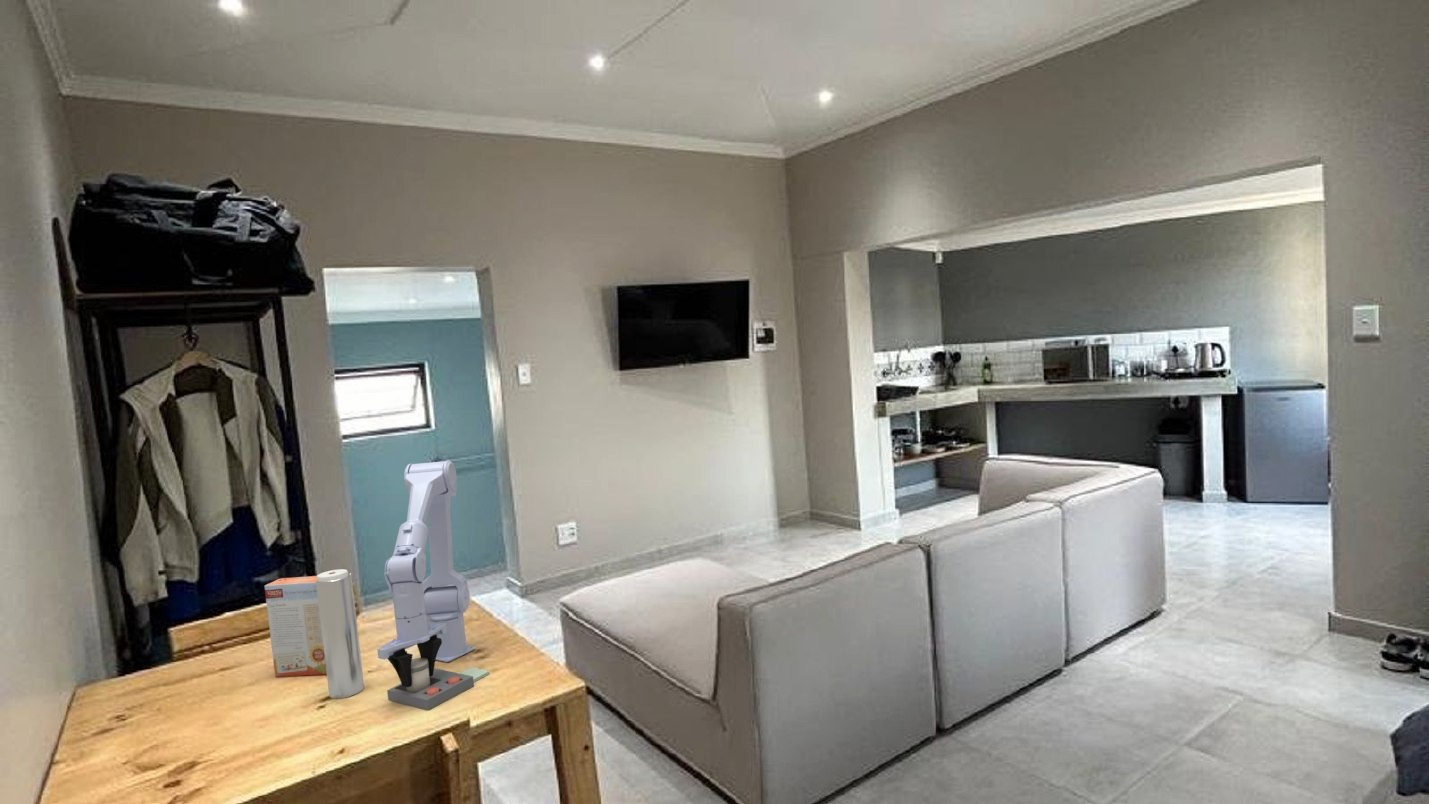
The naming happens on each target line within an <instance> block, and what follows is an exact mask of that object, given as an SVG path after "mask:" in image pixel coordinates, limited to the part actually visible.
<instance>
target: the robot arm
mask: <svg viewBox="0 0 1429 804" xmlns="http://www.w3.org/2000/svg"><path fill="white" fill-rule="evenodd" d="M403 473H404V474H403V481H404V485H405V488H406V490H407V493H408V494H409V500H408V507H407V517H406V521H405V522H404V523H402V524H401V525H400V526H399V528H398V533H397V538H396V540H395V541H396V542H395V545H394V549H393V553H392V556H391V557H390V558H387V560H386V562H385V563H384V564H385V565H384V579H385V583H386V584H387V585H388V592H389V594H390V595H392V604H393V612H394V622H395V628H396V629H395V630H396V637H395V638H393V639H392V640H390V641H389V642H387V643H386V644H384V645H382V646H380V647H378V648H377V649H376V650H377V659H380V660H388V661H389V663H390V664H391V665H392V667H393V669H394V670H395V672H396V674H397V676H398V679H399V681H400V684H402V686H404V687H410V686H412V677H411V661H412V659H413V654H412V653H409V652H408V649H409V648H411V647H413V646H417V649H418V652H419V656H420V658H427V659H428V663H429V666H428V668H429V676H430V677H431V676H433V672H434V668H435V665H436V661H440V662H445V663H449V662H452V661H454V660H456V659H457V658H460V657H462V656H463V655H464V656H465V655H466V654H468V653H470V652H473V651H474V650H476V646H472V645H467V638H466V629H465V628H466V627H465V620H464V619H465V618H464V613H466V612H467V610H468V609H469V608H470V607H469V606H470V602H471V600H470V599H471V598H470V591H469V587H468V580H467V578H466V577H465V576H464V575H462V574H460V573H459V572H457V571H456V570H454V559H453V558H454V556H453V555H454V554H453V537H452V535H453V534H452V518H451V516H452V515H451V514H452V513H451V498H453V497H455V496H457V493H458V492H457V491H458V480H457V470H456V467H455V465H454V463H453V462H452V461H451V460H449V459H447V460H443V461H432V462H423V463H422V462H421V463H420V462H419V463H408V464H407V465H406V467H405V469H404V472H403ZM427 518H428V519H427ZM426 522H428V526H427V525H426ZM428 536H429V537H428ZM428 538H429V540H428ZM427 541H429V557H430V559H429V560H430V575H428V576H427V577H426V573H427V554H425V552H426V546H427ZM425 577H426V578H425Z"/></svg>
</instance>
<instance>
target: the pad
mask: <svg viewBox="0 0 1429 804" xmlns="http://www.w3.org/2000/svg"><path fill="white" fill-rule="evenodd" d="M458 673H459V674H464V675H469V676H473V682H474V683H475V682H477V681H479V680H481V679H483V678H485V677H487V676H489V675H490V670H486V669H481V668H476V667H469V668H467V669H465V670H463V671H461V672H458Z"/></svg>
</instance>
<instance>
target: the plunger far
mask: <svg viewBox="0 0 1429 804" xmlns="http://www.w3.org/2000/svg"><path fill="white" fill-rule="evenodd" d="M459 681H460V678H459V677H458V676H454V677H451V678H449V679H448V684H452V685H453V684H455V683H457V682H459Z"/></svg>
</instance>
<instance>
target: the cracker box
mask: <svg viewBox="0 0 1429 804" xmlns="http://www.w3.org/2000/svg"><path fill="white" fill-rule="evenodd" d="M316 581H317V575H312V576H311V575H310V576H297V577H296V576H295V577H284V578H283V577H281V578H278V579H276V580H274V581H272V582H269V583H267V584H265V585H264V593H265V594H264V595H265V602H266V603H265V604H266V610H267V618H268V627H269V635H270V637H269V638H270V642H271V652H272V659H273V668H274V676H275V677H277V678H279V677H281V678H283V677H298V676H314V675H317V676H319V675H320V676H321V675H327V672H326V664H325V655H324V647H323V638H322V630H321V621H320V613H319V604H318V596H317V587H316Z"/></svg>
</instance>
